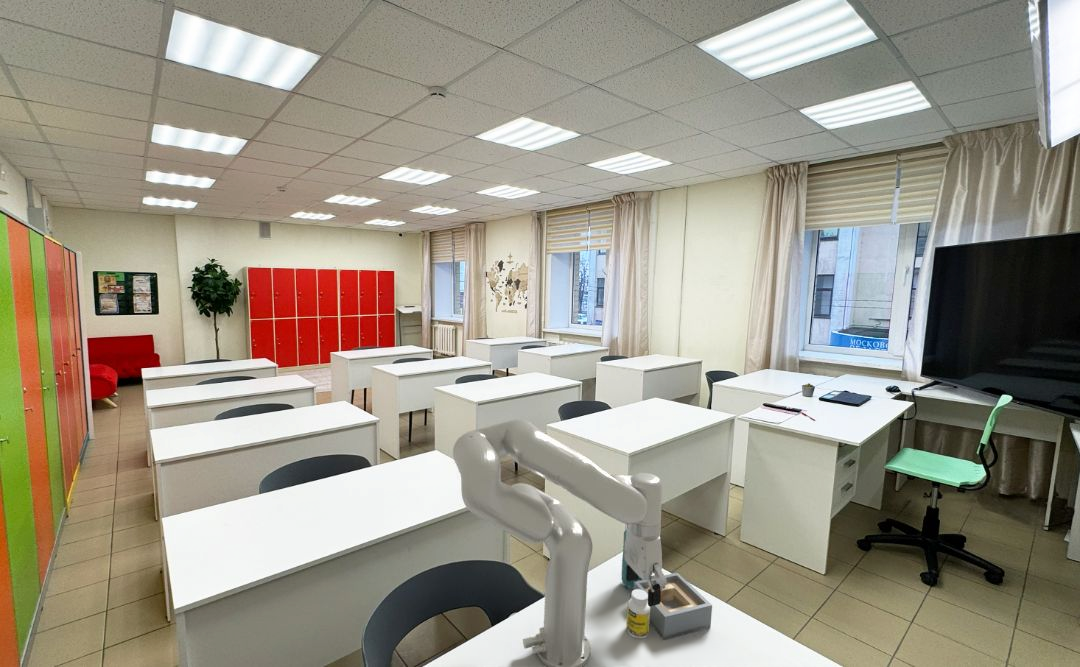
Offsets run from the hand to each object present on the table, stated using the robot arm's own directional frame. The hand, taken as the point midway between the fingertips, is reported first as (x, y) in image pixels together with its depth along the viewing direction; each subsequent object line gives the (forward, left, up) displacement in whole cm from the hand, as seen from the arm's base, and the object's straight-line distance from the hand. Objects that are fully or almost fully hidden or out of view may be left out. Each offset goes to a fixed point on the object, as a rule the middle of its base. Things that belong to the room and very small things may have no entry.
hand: (642, 591), depth 113 cm
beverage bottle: (+7, +16, -10) cm, 20 cm away
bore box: (+11, +3, -10) cm, 15 cm away
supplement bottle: (-1, 0, -10) cm, 10 cm away
